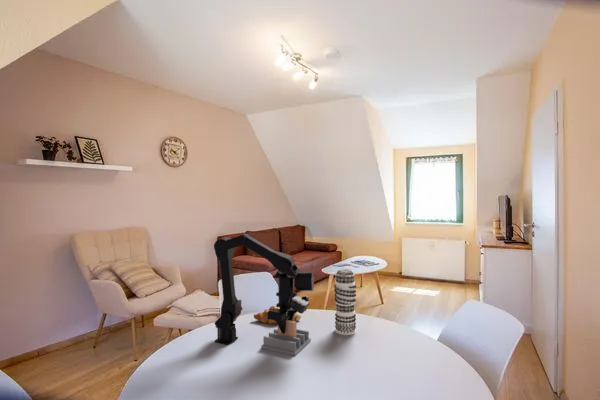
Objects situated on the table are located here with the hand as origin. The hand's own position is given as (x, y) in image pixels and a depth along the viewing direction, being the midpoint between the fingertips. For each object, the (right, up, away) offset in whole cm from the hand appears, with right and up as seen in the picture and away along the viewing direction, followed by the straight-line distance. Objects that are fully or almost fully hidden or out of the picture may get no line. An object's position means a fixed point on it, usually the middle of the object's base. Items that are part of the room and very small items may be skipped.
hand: (286, 331), depth 122 cm
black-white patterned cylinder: (+24, -5, +12) cm, 27 cm away
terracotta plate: (0, -4, 0) cm, 4 cm away
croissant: (-5, -6, +24) cm, 25 cm away
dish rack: (0, -5, 0) cm, 5 cm away
